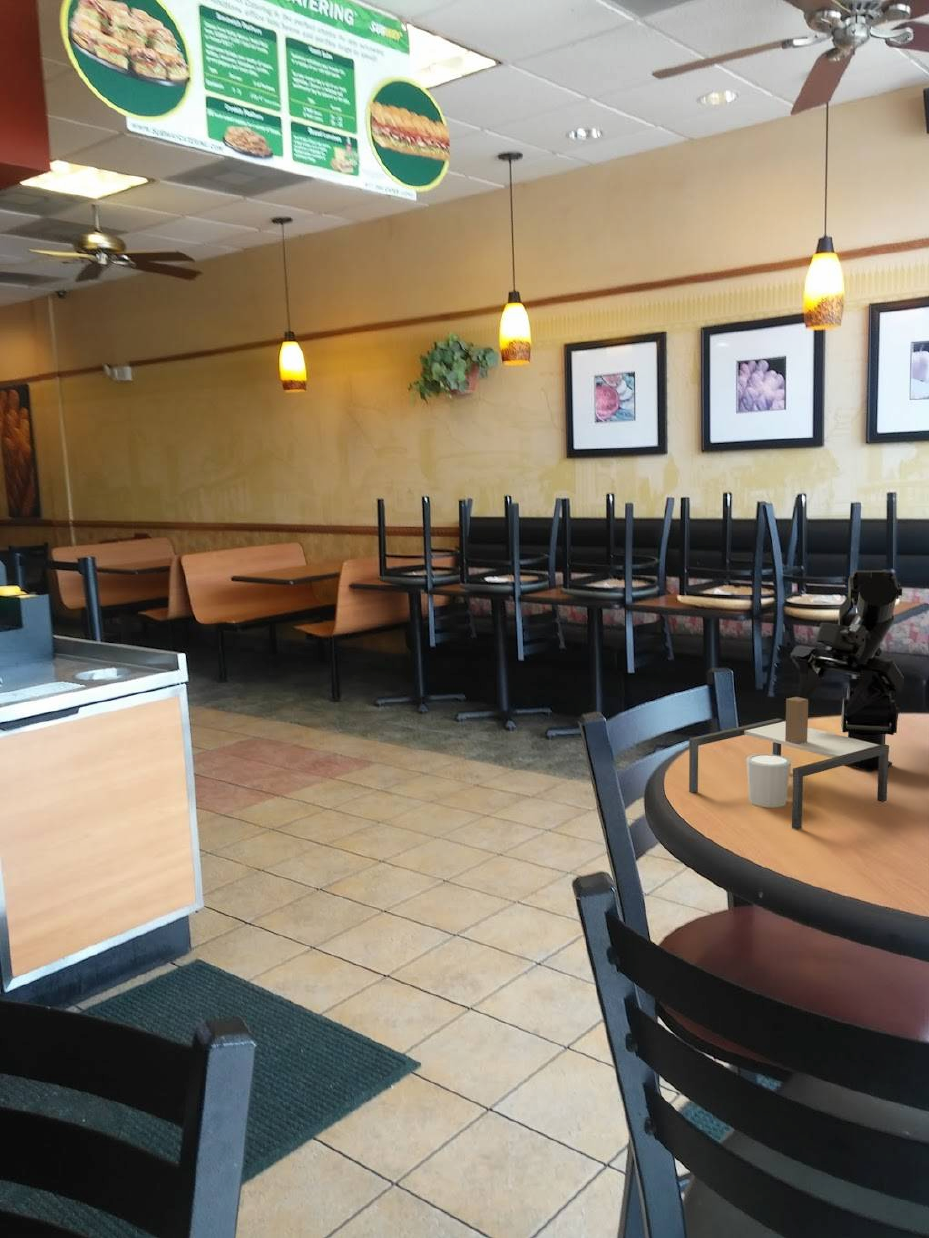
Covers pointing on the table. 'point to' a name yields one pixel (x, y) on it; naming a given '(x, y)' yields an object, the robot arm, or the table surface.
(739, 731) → the cover frame
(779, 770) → the white cup
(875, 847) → the table surface
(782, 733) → the sliding cover
